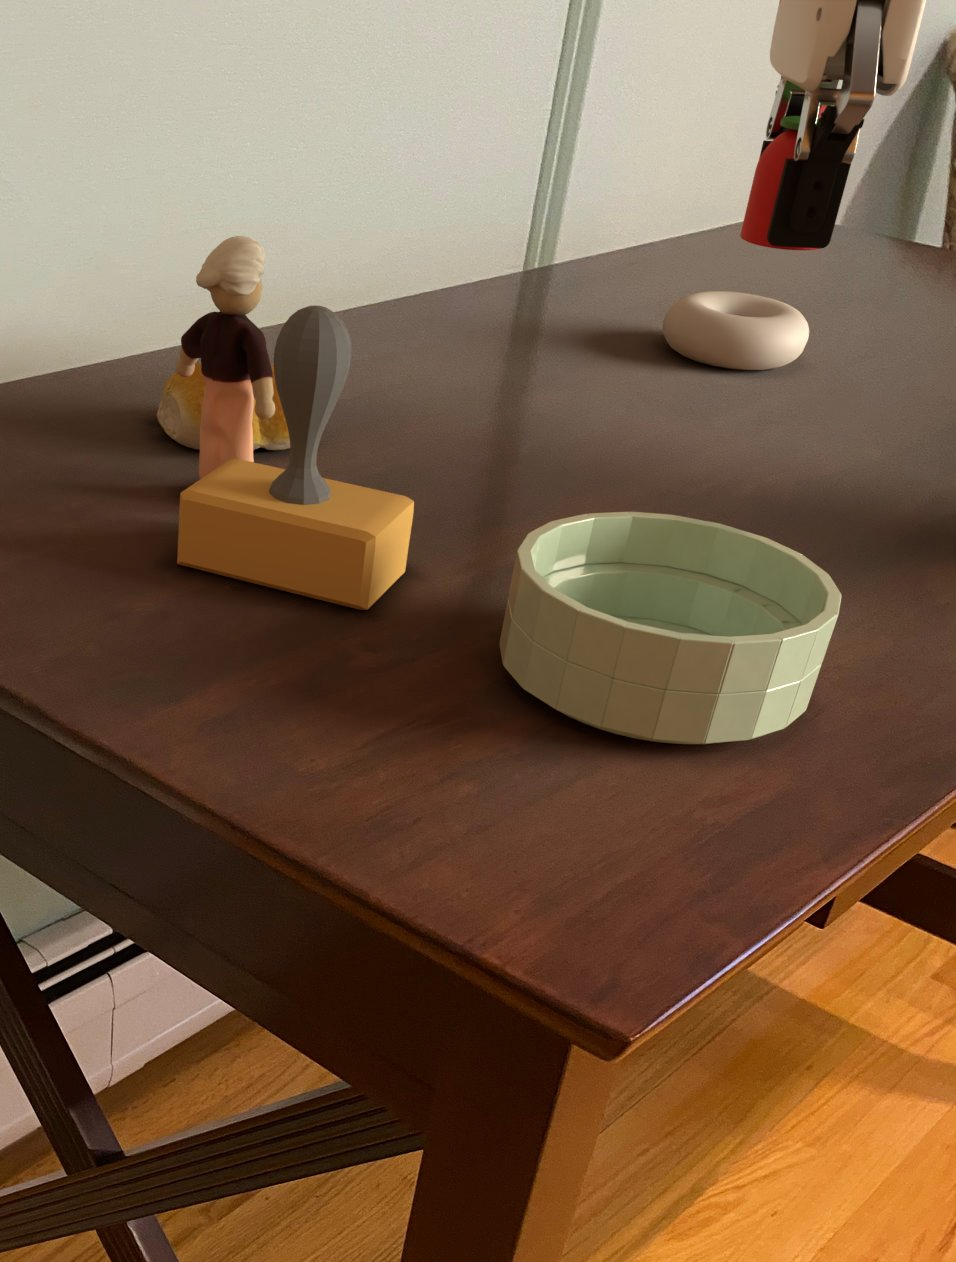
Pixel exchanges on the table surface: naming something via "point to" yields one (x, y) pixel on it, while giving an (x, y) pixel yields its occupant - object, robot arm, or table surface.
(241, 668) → the table surface
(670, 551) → the bowl
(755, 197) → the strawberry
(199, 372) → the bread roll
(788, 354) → the donut
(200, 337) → the grandmother figurine
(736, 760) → the table surface
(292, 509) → the rubber stamp
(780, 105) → the robot arm
